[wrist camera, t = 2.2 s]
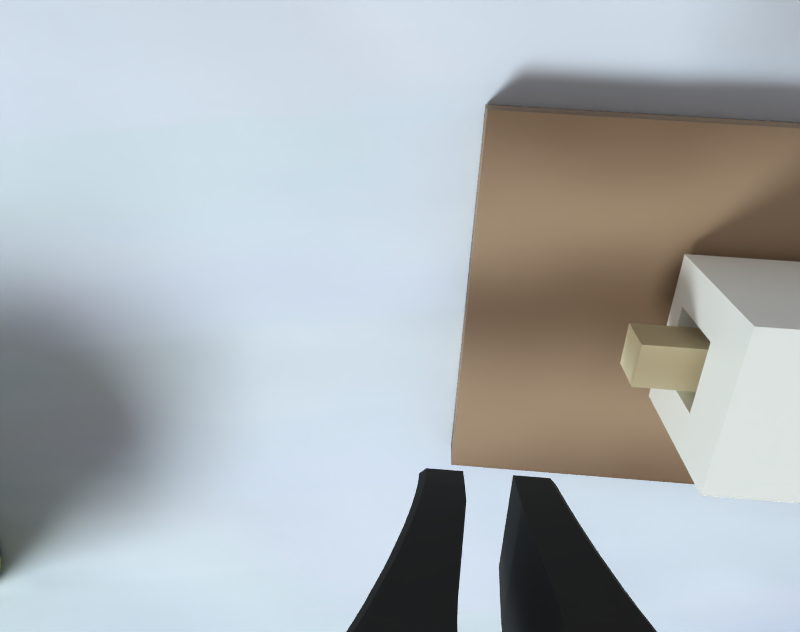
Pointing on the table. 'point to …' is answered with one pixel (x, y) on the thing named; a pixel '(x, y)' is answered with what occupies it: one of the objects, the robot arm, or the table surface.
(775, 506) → the table surface
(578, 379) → the board
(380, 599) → the robot arm
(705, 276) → the sleeve
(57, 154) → the table surface
